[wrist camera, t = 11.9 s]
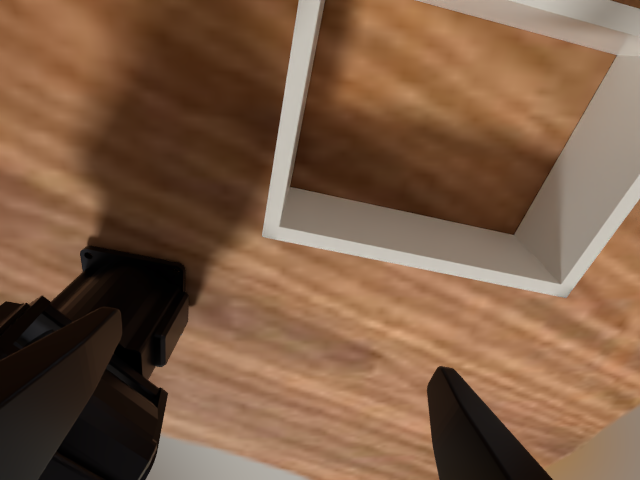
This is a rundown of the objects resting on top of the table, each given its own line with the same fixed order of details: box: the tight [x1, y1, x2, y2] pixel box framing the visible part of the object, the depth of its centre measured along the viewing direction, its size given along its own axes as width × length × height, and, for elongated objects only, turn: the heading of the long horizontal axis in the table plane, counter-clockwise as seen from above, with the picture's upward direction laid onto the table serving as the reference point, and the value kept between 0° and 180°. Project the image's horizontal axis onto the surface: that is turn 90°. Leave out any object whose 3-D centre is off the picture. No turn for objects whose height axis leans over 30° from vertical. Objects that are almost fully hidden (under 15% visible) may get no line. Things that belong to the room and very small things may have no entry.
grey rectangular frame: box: [262, 0, 640, 298], centre depth 16 cm, size 15×11×5 cm
